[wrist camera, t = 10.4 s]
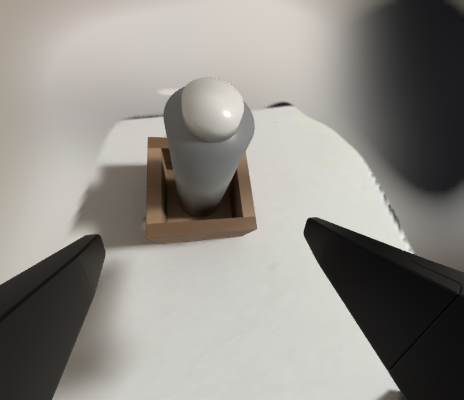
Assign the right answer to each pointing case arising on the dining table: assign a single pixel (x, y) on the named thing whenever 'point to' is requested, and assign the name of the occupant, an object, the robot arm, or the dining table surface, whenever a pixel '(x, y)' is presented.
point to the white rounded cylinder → (206, 141)
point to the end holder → (182, 224)
